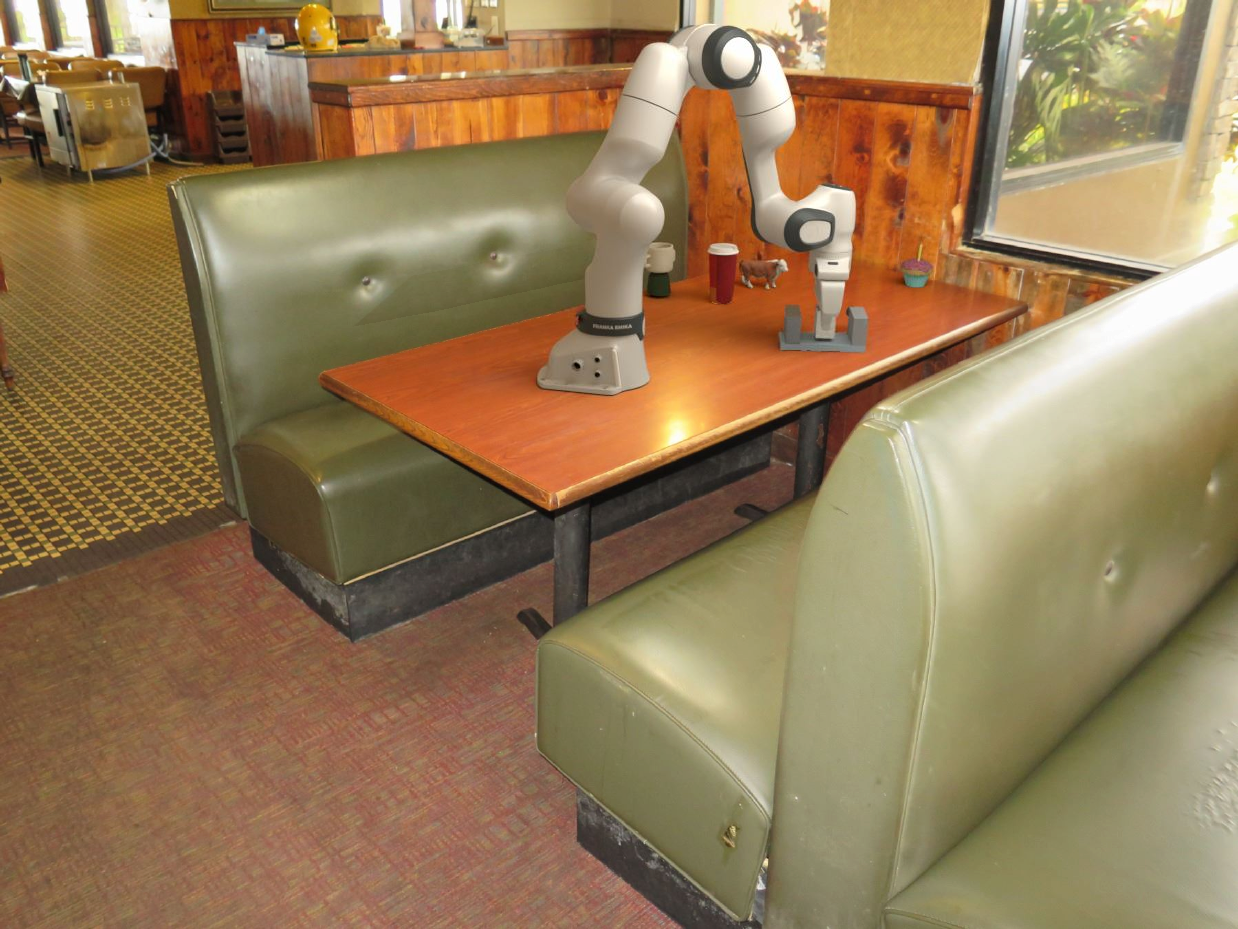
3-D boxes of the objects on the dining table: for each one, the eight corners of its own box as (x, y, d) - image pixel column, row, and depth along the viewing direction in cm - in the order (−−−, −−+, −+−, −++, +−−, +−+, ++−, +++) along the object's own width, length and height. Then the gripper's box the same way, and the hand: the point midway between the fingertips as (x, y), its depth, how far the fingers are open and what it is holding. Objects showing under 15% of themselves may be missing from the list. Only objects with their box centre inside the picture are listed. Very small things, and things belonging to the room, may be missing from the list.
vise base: (780, 350, 216) (782, 316, 213) (776, 327, 232) (778, 295, 228) (865, 352, 215) (868, 318, 212) (855, 329, 230) (859, 297, 227)
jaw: (785, 343, 216) (787, 316, 213) (783, 330, 224) (785, 304, 221) (799, 343, 215) (801, 316, 213) (797, 331, 223) (798, 305, 221)
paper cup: (741, 300, 253) (744, 244, 247) (728, 307, 247) (730, 250, 241) (714, 295, 257) (716, 241, 251) (700, 302, 251) (701, 247, 245)
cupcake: (934, 289, 261) (940, 243, 256) (902, 289, 261) (907, 243, 256) (926, 280, 269) (931, 236, 264) (894, 281, 269) (899, 236, 264)
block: (815, 337, 216) (817, 310, 214) (813, 331, 221) (815, 304, 218) (834, 338, 216) (836, 311, 214) (831, 331, 221) (834, 305, 218)
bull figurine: (785, 292, 259) (787, 261, 256) (736, 287, 264) (737, 256, 261) (790, 288, 263) (792, 257, 259) (741, 283, 268) (743, 253, 265)
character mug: (664, 289, 263) (665, 239, 257) (683, 294, 258) (684, 244, 252) (633, 296, 256) (633, 246, 251) (652, 302, 251) (652, 250, 246)
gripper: (811, 250, 222) (806, 311, 227) (818, 273, 203) (813, 338, 209) (839, 251, 221) (834, 312, 227) (850, 274, 202) (843, 339, 208)
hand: (824, 325), depth 218 cm, fingers closed on block, 5 cm apart
